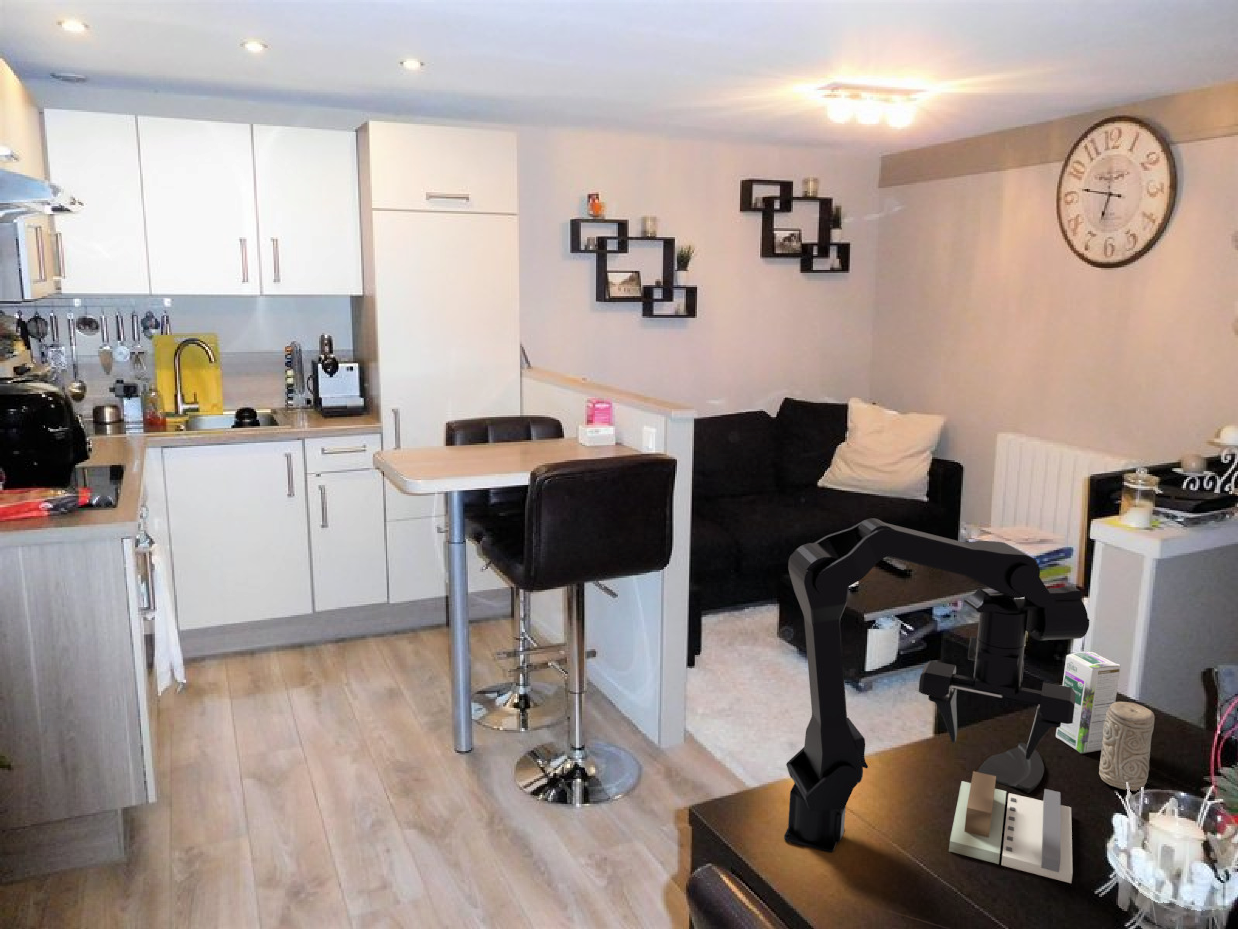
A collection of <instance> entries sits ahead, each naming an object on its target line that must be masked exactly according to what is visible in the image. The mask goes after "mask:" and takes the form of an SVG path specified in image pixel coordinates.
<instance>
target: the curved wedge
mask: <svg viewBox="0 0 1238 929" xmlns="http://www.w3.org/2000/svg"><path fill="white" fill-rule="evenodd" d="M1017 743H1018V744H1017V745H1018V746H1017V747H1014V748H1012V749H1008V750H1006V751H1005V752H1002V753H997V754H994V755H991V756H989V757H988V758H987V759H986V760H985V761H984V762H982V764H981V765H980V767H979V768H978V770H977V771H976V772H979V773H983V774H988V775H992V776H996V783H997V784H1000V785H1004V786H1006V787H1009V788H1013V789H1018V790H1020V791H1022V790H1023V792H1025V793H1026V794H1030V793H1031V792H1032V791H1034V789H1036V788H1037V787H1038V786H1039V784H1040V782H1041V781H1042V778H1043V776H1044V773H1045V765H1044V762H1043V761H1044V760H1043V759H1042V757H1041V755H1040V753H1039V752H1038V751H1037V749H1035V750H1034V752H1033V753H1032V755H1031V757H1030V759H1029V760H1026V750H1027V744H1028V743H1024V742H1021V741H1018V742H1017Z"/></svg>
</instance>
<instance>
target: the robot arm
mask: <svg viewBox="0 0 1238 929" xmlns="http://www.w3.org/2000/svg"><path fill="white" fill-rule="evenodd" d="M885 558H891V559H894V560H899V561H903V562H907V563H911V564H914V565H915V564H916V565H919V566H924V567H928V568H932V569H936V570H940V571H944V572H948V573H952V574H956V575H960V576H965V577H967V578H969V579H971V580H973V581H976V583H977V582H978V583H979V584H981V585H983V586H985V587H987V588H989V589H992V590H994V591H995V592H997V593H988V592H987V591H986V590H984V589H982V588H980V587H979V588H977V589H976V591H975V592H974V593H972V594H970V595H968V596H967V597H966V598H965V599H964V601H963V603H964V604H965V605H967V606H968V607H970V608H971V609H972V610H974V611H976V613H979V614H978V615H979V618H978V625H977V626H978V629H977V637H975V636H970V639H969V644H968V652H967V659H968V660H969V661H970V660H971V661H974V672H973V677H970V676H967V675H966V676H965V675H961V674H957V666H956V664H949V663H945V662H940V661H935V660H929V661H928V662H926V663H925V664H924V667H923V669H922V670H921V673H920V676H919V681H918V682H919V683H918V684H919V685H918V692H919V693H920V694H922V695H926V696H928V699H927V700H929V701H930V702H933V703H935V704H936V707H937V709H938V711H939V712H940V715H941V716H942V718H943V721H944V723H945V726H946V729H947V732H948V736H949V738H950V740H951V743H952V744H955V743H956V741H957V734H958V715H957V714H958V713H957V711H958V710H957V692H958V691H963V692H968V693H972V694H977V695H982V696H987V697H992V698H993V697H994V698H997V699H1001V700H1002V699H1003V700H1007V701H1011V702H1016V703H1021V704H1027V705H1032V706H1037V707H1036V712H1035V716H1034V719H1033V723H1032V727H1031V730H1030V734H1029V738H1028V742H1027V743H1026V744H1027V750H1026V760H1029V759H1030V757H1031V755H1032V753H1033V752H1034V750H1036V748H1037V746H1038V745H1039V743H1040V741H1041V740H1042V739H1043V738H1044V736H1045V735H1047V733H1048V732H1049V730H1051V728H1056V729H1057V728H1059V727H1060V726H1061V723H1065V724H1071V723H1073V715H1074V706H1075V695H1076V693H1075V692H1074V690H1073V689H1072V688H1071V687H1066V686H1063V685H1060V684H1056V683H1049V682H1045V681H1043V682H1042V687H1041V690H1038V689H1032V688H1027V687H1021V683H1023V677H1024V669H1025V668H1024V666H1025V662H1024V652H1025V645H1026V644H1025V642H1026V634H1027V633H1029V635H1030V636H1031V637H1032V638H1033V639H1034V640H1036V641H1048V640H1051V641H1052V640H1071V639H1072V640H1075V639H1082V638H1084V637H1085V636H1086V635H1087V633H1088V631H1089V627H1090V619H1089V616H1088V612H1087V608H1086V606H1085V604H1084V602H1083V600H1082V591H1081V590H1080V589H1078V588H1076V587H1074V586H1072V585H1067V586H1066V585H1064V586H1061V587H1049V588H1047V586H1046V585H1045V583H1044V582H1043V580H1042V578H1041V577H1040V576H1041V570H1040V565H1039V564H1038V561H1037V560H1036V559H1035V558H1034V557H1032V556H1030V555H1028V554H1027V553H1025V552H1024V551H1021V550H1019V549H1017V548H1015V547H1014V546H1011V545H1010V544H1008V543H1006V542H1004V541H992V540H975V541H959V540H956V539H951V538H948V537H945V536H944V537H943V536H939V535H937V534H936V535H935V534H931V533H927V532H923V531H919V530H915V529H911V528H907V527H903V526H900V525H894V524H890V523H887V522H884V521H882V520H880V519H878V518H874V517H873V518H867V519H864V520H861V522H859V523H857V524H855V525H853V526H851V527H848V528H847V529H843V530H841V531H837V532H834V533H830V534H828V535H825V536H824V537H822V538H820V539H818V540H816V541H815V542H807V543H806V544H802V545H800V546H799V547H798V548H796V549H795V550H794V551H793V553H792V554H791V555H790V556H789V558H788V566H787V568H788V573H789V577H790V580H791V584H792V587H793V591H794V593H795V597H796V599H797V601H798V603H799V606H800V609H801V611H802V614H803V619H804V620H803V621H804V632H805V643H806V644H805V645H806V657H807V658H806V659H807V669H808V682H809V692H810V705H811V718H810V720H809V722H808V724H807V726H806V728H805V738H804V746H803V748H801V749H800V750H799V751H798V752H797V753H795V755H794V756H792V757H791V758H790V759H789V760H788V761H787V762H786V764H785V765H786V768H787V771H788V774H789V775H788V776H790V778H791V779H792V781H793V785H792V787H791V789H790V792H789V804H788V805H789V806H788V821H787V822H788V824H787V826H788V827H787V829H786V830H785V832H784V835H783V839H784V841H786V842H789V843H794V844H795V845H800V846H804V847H807V848H811V849H814V850H818V851H821V852H826V853H829V854H831V853H834V850H836V849H835V848H836V846H837V843H840V842H841V840H842V838H843V836H844V832H845V821H846V807H847V804H848V801H849V799H850V797H851V795H852V793H853V790H854V788H855V787H856V786H857V785H858V784H859V783H861V782H862V780H863V776H864V769H868V767H869V765H868V764H867V762H866V759H865V752H866V739H865V737H864V736H863V735H862V733H861V732H860V731H859V729H858V728H857V727H856V726H855V724H854V723H853V722H852V721H851V719H850V717H848V712H847V699H846V698H847V697H846V688H845V687H846V686H845V685H846V684H845V672H844V658H843V647H842V646H843V645H842V633H841V629H842V628H841V618H842V616H843V613H844V611H845V608H846V606H847V603H848V596H849V589H850V588H849V587H851V586H852V585H854V584H856V583H858V582H859V581H861V580H863V579H864V578H865V577H866V575H867V574H868V573H869V572H870V571H871V570H872V569H873V568H874V567H875V566H876V565H877V564H878V563H879V562H880V561H882V560H883V559H885Z"/></svg>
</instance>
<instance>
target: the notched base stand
mask: <svg viewBox="0 0 1238 929" xmlns="http://www.w3.org/2000/svg"><path fill="white" fill-rule="evenodd" d="M1043 792H1044V793H1043V799H1042V800H1040V799H1036V798H1032V797H1027V796H1022V795H1019V794H1015V793H1010V792H1009V793H1008V794H1007V804H1006V805H1007V806H1006V816H1005V825H1004V832H1003V833H1004V836H1003V843H1002V854H1001V866H1003V867H1007V868H1011V869H1014V870H1018V871H1023V872H1025V873H1030V874H1035V875H1038V876H1042V877H1045V878H1049V879H1052V880H1058V881H1061V882H1065V883H1069V884H1072V881H1073V872H1074V871H1073V839H1072V838H1073V836H1072V835H1073V832H1072V827H1073V826H1072V806H1071V807H1070V806H1066V805H1063V804H1061V792H1060V791H1055V790H1051V789H1048V788H1047V789H1046V788H1044V790H1043Z"/></svg>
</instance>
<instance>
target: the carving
mask: <svg viewBox="0 0 1238 929" xmlns="http://www.w3.org/2000/svg"><path fill="white" fill-rule="evenodd" d="M1154 727H1155V713H1154V712H1153V711H1152V710H1151V709H1149V708H1146V707H1145V706H1143V705H1141V704H1138V703H1136V702H1127V701H1115V703H1113V704H1111V706H1110V707H1109V708H1108V711H1107V712H1106V718H1105V722H1104V727H1103V741H1102V744H1103V746H1102V750H1100V751H1101V752H1100V759H1099V760H1100V761H1099V767H1098V768H1099V771H1098V774H1099V777H1100V778H1101V780H1102V781H1103V782H1104V783H1105V784H1108V785H1109V786H1112V787H1115V788H1118V789H1121V790H1125V791H1127V790H1126V782H1129V786H1130V789H1131V792H1132V791H1133V792H1138V791H1137V790H1139V788H1140V787H1144V788H1145V785H1146V784H1147V782H1148V780H1147V779H1148V778H1149V771H1150V757H1151V753H1150V752H1151V742H1152V735H1153V732H1154Z"/></svg>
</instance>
